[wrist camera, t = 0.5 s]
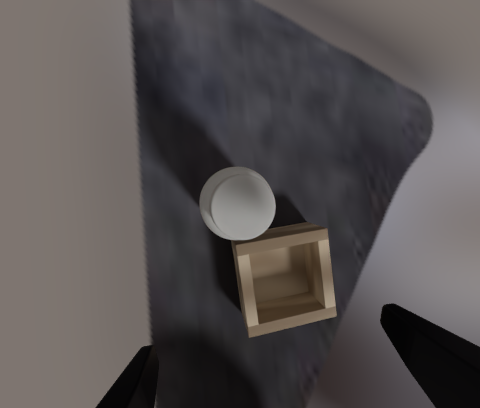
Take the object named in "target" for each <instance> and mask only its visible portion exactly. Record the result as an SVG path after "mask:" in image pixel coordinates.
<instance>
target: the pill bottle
mask: <svg viewBox="0 0 480 408" xmlns="http://www.w3.org/2000/svg"><path fill="white" fill-rule="evenodd" d="M199 206H200V212H201V216H202V218H203V220H204V222H205V224H206V225H207V226H208V228H209V229H210V230H211V231H212V232H214V233H215V234H216V235H218V236H220V237H222V238H225V239H229V240H249V239H253V238H256V237H257V236H259V235H261V234H262V233H264V232H265V231H266V230H267V229H268V227H269V226H270V224H271V223H272V221H273V218H274V215H275V209H276V204H275V198H274V195H273V193H272V191H271V189H270V187H269V185H268V183H267V182H266V180H265V179H264V178H263V177H262V176H261V175H260V174H258V173H257V172H255V171H253V170H251V169H249V168H245V167H228V168H225V169H222V170H220V171H218V172H216V173H215V174H214V175H212V176H211V177H210V178H209V179H208V180H207V182H206V183H205V185H204V186H203V188H202V191H201V194H200V199H199Z"/></svg>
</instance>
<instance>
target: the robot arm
mask: <svg viewBox="0 0 480 408" xmlns="http://www.w3.org/2000/svg"><path fill="white" fill-rule="evenodd" d="M380 322H381V325H382V327H383V329H384V330H385V332H386V334H387V336H388V337H389V339H390V341H391V342H392V344H393V345H394V347H395V349H396V350H397V352H398V353H399V355H400V357H401V359H402V360H403V362H404V363H405V365H406V366H407V368H408V369H409V371H410V372H411V374H412V375H413V377H414V378H415V379H416V381H417V382H418V384H419V385H420V386H421V388H422V389H423V390H424V392H425V393H426V394H427V396H428V397H429V399H430V400H431V402H432V403H433V404H434V406H435V407H436V408H480V347H479V346H477V345H475V344H473V343H471V342H469V341H467V340H465V339H463V338H461V337H459V336H457V335H455V334H453V333H451V332H449V331H447V330H445V329H443V328H442V327H440V326H438V325H435V324H433V323H431V322H430V321H428V320H426V319H424V318H422V317H420V316H418V315H416V314H414V313H412V312H410V311H408V310H406V309H404V308H402V307H400V306H398V305H396V304H386V305H384V306H383V307H382V313H381V319H380ZM158 370H159V361H158V357H157V354H156V350H155V347H154V346H153V345H149V346H144V347H142V348H141V349H140V350H139V351H138V353H137V354H136V355H135V356H134V358H133V359H132V361H131V362H130V363H129V365H128V366H127V367H126V368H125V370H124V371H123V372H122V374H121V375H120V376H119V377H118V379H117V380H116V381H115V383H114V384H113V386H112V387H111V388H110V389H109V391H108V392H107V393H106V395H105V396H104V397H103V399H102V400H101V401H100V403H99V404H98V405H97V407H96V408H154V405H155V396H156V387H157V378H158Z"/></svg>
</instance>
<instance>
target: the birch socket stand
mask: <svg viewBox="0 0 480 408" xmlns="http://www.w3.org/2000/svg"><path fill="white" fill-rule="evenodd" d="M231 243H232V249H233V256H234V263H235V270H236V276H237V283H238V290H239V297H240V303H241V310H242V315H243V318H244V322H245V325H246V328H247V332H248V335H249V338H250V337H254V336H258V335H262V334H266V333H270V332H275V331H279V330H283V329H287V328H291V327H295V326H299V325H303V324H307V323H311V322H315V321H319V320H323V319H327V318H331V317H335V316H337V315H336V306H335V297H334V287H333V278H332V269H331V260H330V250H329V241H328V232H327V228H324V227H321V226H318V225H315V224H312V223H308V222H305V223H299V224H294V225H288V226H282V227H276V228H271V229H267V230H266V231H265V232H264V233H262V234H261V235H259V236H257V237H256V238H253V239H249V240H231Z"/></svg>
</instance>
